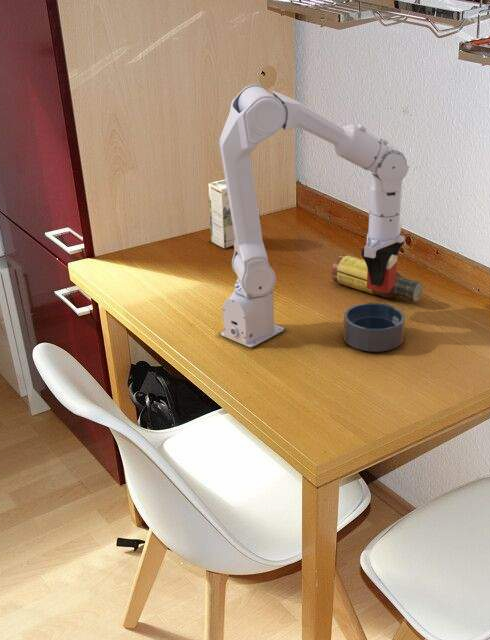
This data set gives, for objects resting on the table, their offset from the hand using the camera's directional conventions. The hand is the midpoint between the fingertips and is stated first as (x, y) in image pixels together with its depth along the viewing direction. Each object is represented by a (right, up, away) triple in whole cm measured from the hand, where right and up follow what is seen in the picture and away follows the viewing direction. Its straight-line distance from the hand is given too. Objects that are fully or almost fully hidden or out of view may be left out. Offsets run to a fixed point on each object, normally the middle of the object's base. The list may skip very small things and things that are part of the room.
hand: (381, 279), depth 160 cm
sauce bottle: (-8, +5, +17) cm, 19 cm away
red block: (0, -1, +1) cm, 1 cm away
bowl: (-2, -12, -4) cm, 13 cm away
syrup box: (-34, +14, +36) cm, 51 cm away
